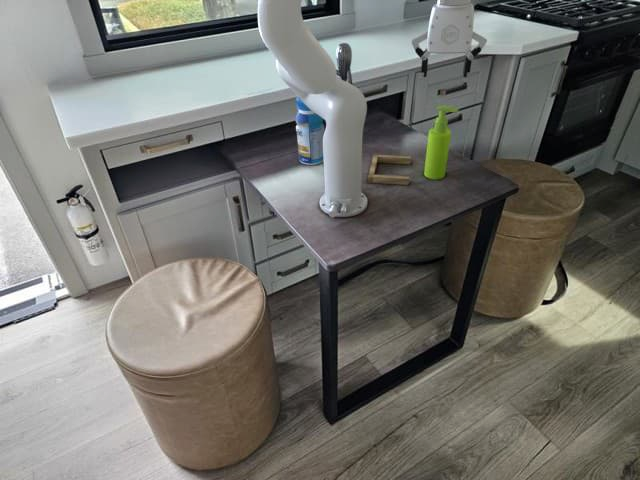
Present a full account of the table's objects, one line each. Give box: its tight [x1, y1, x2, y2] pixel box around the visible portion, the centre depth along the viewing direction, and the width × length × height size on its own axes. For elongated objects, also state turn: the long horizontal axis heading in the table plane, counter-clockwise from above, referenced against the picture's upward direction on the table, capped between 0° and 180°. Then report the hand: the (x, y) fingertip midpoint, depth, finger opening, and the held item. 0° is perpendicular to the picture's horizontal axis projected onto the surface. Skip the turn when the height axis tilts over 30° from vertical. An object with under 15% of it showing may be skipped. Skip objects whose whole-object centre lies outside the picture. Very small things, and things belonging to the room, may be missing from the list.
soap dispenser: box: [423, 105, 460, 180], centre depth 118 cm, size 6×7×20 cm
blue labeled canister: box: [295, 95, 325, 166], centre depth 129 cm, size 8×8×20 cm
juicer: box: [335, 42, 354, 86], centre depth 138 cm, size 10×11×30 cm
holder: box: [367, 153, 412, 186], centre depth 126 cm, size 14×11×2 cm
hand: (444, 75), depth 107 cm, fingers open, 9 cm apart
